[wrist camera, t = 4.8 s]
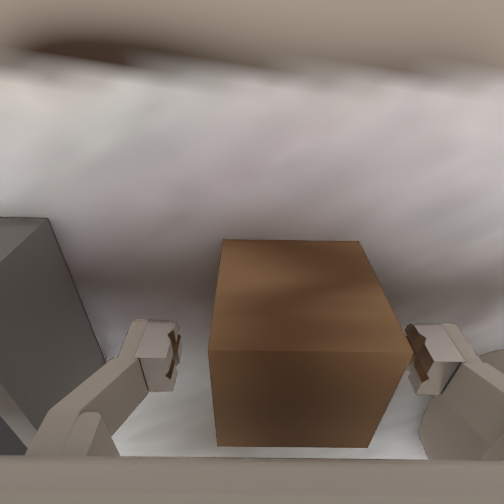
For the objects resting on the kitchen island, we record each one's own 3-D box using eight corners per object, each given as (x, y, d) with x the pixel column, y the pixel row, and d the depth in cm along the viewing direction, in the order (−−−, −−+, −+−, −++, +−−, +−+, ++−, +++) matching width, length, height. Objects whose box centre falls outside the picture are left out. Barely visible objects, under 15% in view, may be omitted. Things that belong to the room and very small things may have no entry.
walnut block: (358, 240, 12) (413, 352, 8) (335, 330, 15) (367, 447, 11) (223, 238, 12) (207, 349, 8) (227, 329, 15) (217, 446, 11)
